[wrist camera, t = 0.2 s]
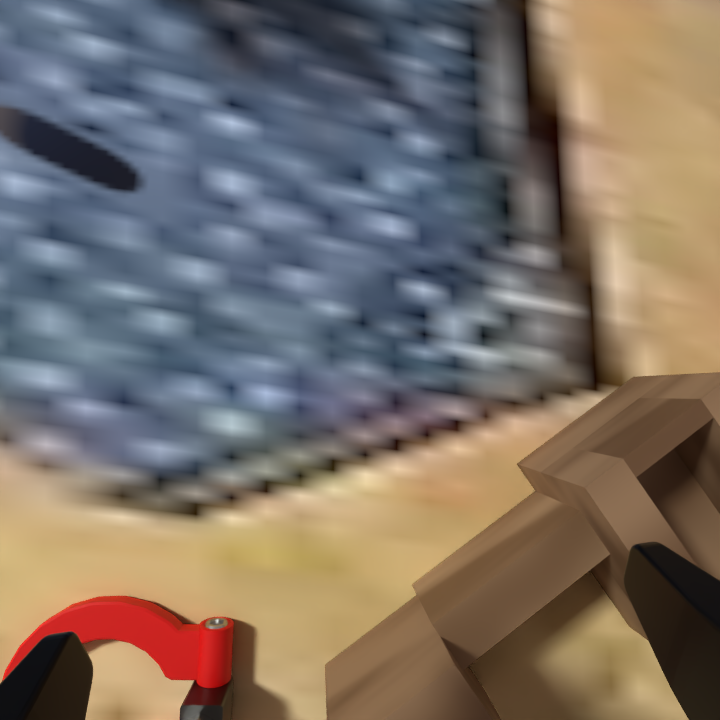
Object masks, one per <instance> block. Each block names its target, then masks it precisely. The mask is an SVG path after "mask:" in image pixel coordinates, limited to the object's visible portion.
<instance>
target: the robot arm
mask: <svg viewBox="0 0 720 720" xmlns="http://www.w3.org/2000/svg"><path fill="white" fill-rule="evenodd" d="M624 587H625V590H626V593H627V595H628V597H629V599H630V602H631V604H632V606H633V608H634V610H635V612H636V614H637V617H638V619H639V621H640V623H641V625H642V627H643V630H644V632H645V634H646V636H647V638H648V640H649V643H650V645H651V647H652V649H653V651H654V653H655V656H656V658H657V660H658V662H659V664H660V666H661V669H662V671H663V673H664V675H665V677H666V679H667V681H668V683H669V685H670V687H671V689H672V691H673V692H674V694H675V696H676V698H677V700H678V702H679V703H680V705H681V707H682V709H683V710H684V712H685V714H686V715H687V717H688V719H689V720H720V580H718V579H717V578H715V577H714V576H712V575H711V574H709V573H707V572H706V571H704V570H703V569H701V568H700V567H698V566H696V565H695V564H693V563H692V562H690V561H688V560H687V559H685V558H684V557H682V556H681V555H679V554H677V553H676V552H674V551H673V550H671V549H670V548H668V547H666V546H665V545H663V544H661V543H659V542H646V543H639V544H635V545H633V546H632V547H631V548H630V551H629V555H628V560H627V564H626V568H625V572H624ZM92 678H93V665H92V662H91V659H90V657H89V655H88V654H87V652H86V650H85V648H84V646H83V644H82V642H81V641H80V639H79V637H78V635H77V634H76V633H74V632H72V631H68V632H61V633H55V634H50V635H47V636H45V637H44V638H42V639H41V640H40V641H39V642H38V643H37V644H36V645H35V646H34V647H33V648H32V650H31V651H30V652H29V653H28V654H27V655H26V656H25V657H24V658H23V659H22V660H21V661H20V663H19V664H18V665H17V666H16V667H15V668H14V669H13V670H12V671H11V672H10V673H9V674H8V676H7V677H6V678H5V679H4V680H3V681H2V682H1V683H0V720H85V717H86V712H87V706H88V701H89V695H90V690H91V684H92Z"/></svg>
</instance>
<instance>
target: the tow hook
mask: <svg viewBox="0 0 720 720" xmlns="http://www.w3.org/2000/svg"><path fill="white" fill-rule="evenodd" d="M233 626H234V622H233V620H232V619H230V618H226V617H213V618H208V619H206V620H204V621H202V622H201V623H200V624H182V623H181V622H180V621H179V620H178V619H177V618H176V617H175V616H174V615H173V614H171V613H170V612H168V611H166V610H164V609H162V608H161V607H159V606H157V605H155V604H154V603H152V602H149V601H144V600H140V599H136V598H132V597H128V596H103V597H96V598H92V599H89V600H86V601H82V602H79V603H75V604H72V605H71V606H69V607H67V608H66V609H64V610H62V611H61V612H59V613H57V614H56V615H54V616H52V617H51V618H49V619H48V620H46V621H45V622H44V623H42V624H41V625H40V626H39V627H38V628H37V629H36V630H35V631H34V632H33V633H32V634H31V635H30V636H29V637H28V638H27V639H26V640H25V641H24V642H23V643H22V644H21V645H20V647H19V648H18V650H17V652H16V653H15V655H14V657H13V658H12V660H11V662H10V663H9V665H8V667H7V669H6V670H5V673H4V676H3V680H4V679H5V678H6V677H7V676H8V674H9V673H10V672H11V671H12V670H13V669H14V668H15V667H16V666H17V665H18V664H19V663H20V661H21V660H22V659H23V658H24V657H25V656H26V655H27V654H28V653H29V652H30V651H31V650H32V648H33V647H34V646H35V645H36V644H37V643H38V642H39V641H40V640H41V639H42V638H44V637H45V636H47V635H50V634H55V633H61V632H68V631H72V632H74V633H76V634H77V635H78V637H79V639H80V641H81V642H82V644H83V643H87V642H90V641H93V640H104V639H115V640H119V641H123V642H127V643H131V644H133V645H135V646H136V647H138V648H140V649H142V650H144V651H145V652H147V653H148V654H149V655H150V656H151V657H152V658H153V659H154V660H155V661H156V662H157V663H158V664H159V666H160V668H161V670H162V671H163V673H164V675H165V676H166V677H167V678H169V679H171V680H194V682H193V684H192V686H191V688H190V690H189V692H188V694H187V696H186V698H185V700H184V702H183V704H182V706H181V708H180V720H231V718H232V697H233V677H232V675H231V668H232V647H233ZM3 680H2V681H3Z"/></svg>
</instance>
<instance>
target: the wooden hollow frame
mask: <svg viewBox="0 0 720 720" xmlns="http://www.w3.org/2000/svg"><path fill="white" fill-rule="evenodd" d="M517 465H518V466H519V468H520V469H521V471H522V472H523V473H524V475H525V476H526V478H527V479H528V481H529V482H530V484H531V485H532V486H533V488H534V489H535V492H534V493H532V494H531V495H530V496H528V497H527V498H526V499H524V500H523V501H522V502H520V503H519V504H518V505H517V506H515V507H514V508H513V509H511V510H510V511H509V512H507V513H506V514H505V515H503V516H502V517H501V518H499V519H498V520H497V521H495V522H494V523H493V524H491V525H490V526H489V527H487V528H486V529H485V530H484V531H482V532H481V533H480V534H478V535H477V536H476V537H474V538H473V539H472V540H470V541H469V542H468V543H466V544H465V545H464V546H462V547H461V548H460V549H458V550H457V551H456V552H454V553H453V554H452V555H450V556H449V557H448V558H447V559H445V560H444V561H443V562H441V563H440V564H439V565H437V566H436V567H435V568H433V569H432V570H431V571H429V572H428V573H427V574H425V575H424V576H423V577H421V578H420V579H419V580H417V581H416V582H415V583H413V584H412V586H413V588H414V590H415V592H416V594H417V595H416V596H415V597H414V598H412V599H411V600H410V601H408V602H407V603H406V604H405V605H403V606H402V607H401V608H399V609H398V610H397V611H395V612H394V613H393V614H391V615H390V616H389V617H387V618H386V619H385V620H384V621H382V622H381V623H380V624H378V625H377V626H376V627H374V628H373V629H372V630H370V631H369V632H368V633H366V634H365V635H364V636H362V637H361V638H360V639H359V640H357V641H356V642H355V643H353V644H352V645H351V646H349V647H348V648H347V649H345V650H344V651H343V652H341V653H340V654H339V655H338V656H336V657H335V658H334V659H332V660H331V661H330V662H328V663H327V664H326V665H325V679H326V708H327V720H501V719H500V717H499V715H498V713H497V712H496V710H495V708H494V706H493V705H492V703H491V701H490V699H489V698H488V696H487V694H486V692H485V690H484V689H483V687H482V686H481V684H480V683H479V681H478V680H477V678H476V677H475V675H474V674H473V673H472V671H471V670H470V668H469V667H468V666H469V665H470V664H472V663H473V662H474V661H475V660H477V659H478V658H479V657H480V656H482V655H483V654H484V653H486V652H487V651H488V650H489V649H491V648H492V647H493V646H494V645H496V644H497V643H498V642H499V641H501V640H502V639H503V638H505V637H506V636H507V635H508V634H510V633H511V632H512V631H513V630H515V629H516V628H517V627H518V626H520V625H521V624H522V623H524V622H525V621H526V620H527V619H529V618H530V617H531V616H532V615H534V614H535V613H536V612H537V611H539V610H540V609H541V608H543V607H544V606H545V605H546V604H548V603H549V602H550V601H551V600H553V599H554V598H555V597H557V596H558V595H559V594H560V593H562V592H563V591H564V590H565V589H567V588H568V587H569V586H570V585H572V584H573V583H574V582H576V581H577V580H578V579H579V578H581V577H582V576H583V575H584V574H586V573H587V572H588V571H589V570H591V572H592V573H593V575H594V576H595V578H596V579H597V580H598V582H599V583H600V585H601V586H602V588H603V589H604V591H605V592H606V593H607V595H608V596H609V598H610V599H611V601H612V602H613V604H614V605H615V606H616V608H617V609H618V611H619V612H620V614H621V615H622V617H623V618H624V619H625V621H626V622H627V624H628V625H629V627H631V628H632V629H633V630H635V631H636V632H637V633H639V634H640V635H642V636H643V637H644V638H646V639H647V640H648V638H647V636H646V634H645V632H644V630H643V627H642V625H641V623H640V621H639V619H638V617H637V614H636V612H635V610H634V608H633V606H632V604H631V602H630V599H629V597H628V595H627V593H626V590H625V587H624V572H625V568H626V564H627V560H628V555H629V551H630V548H631V547H632V546H633V545H635V544H639V543H646V542H659V543H661V544H663V545H665V546H666V547H668V548H670V549H671V550H673V551H674V552H676V553H677V554H679V555H681V556H682V557H684V558H685V559H687V560H688V561H690V562H692V563H693V564H695V565H696V566H698V567H700V568H701V569H703V570H704V571H706V572H707V573H709V574H711V575H712V576H714V577H715V578H717V579H718V580H720V372H718V373H699V374H680V375H661V376H642V377H633V378H632V379H630V380H629V381H627V382H626V383H625V384H623V385H622V386H621V387H619V388H618V389H617V390H615V391H614V392H613V393H611V394H610V395H609V396H607V397H606V398H605V399H603V400H602V401H601V402H599V403H598V404H597V405H595V406H594V407H593V408H591V409H590V410H589V411H587V412H586V413H585V414H583V415H582V416H581V417H579V418H578V419H577V420H575V421H574V422H573V423H571V424H570V425H569V426H567V427H566V428H564V429H563V430H562V431H560V432H559V433H558V434H556V435H555V436H554V437H552V438H551V439H550V440H548V441H547V442H546V443H544V444H543V445H542V446H540V447H539V448H538V449H536V450H535V451H534V452H532V453H531V454H530V455H528V456H527V457H526V458H524V459H523V460H522V461H520V462H519V463H518V464H517ZM648 641H649V640H648Z"/></svg>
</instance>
